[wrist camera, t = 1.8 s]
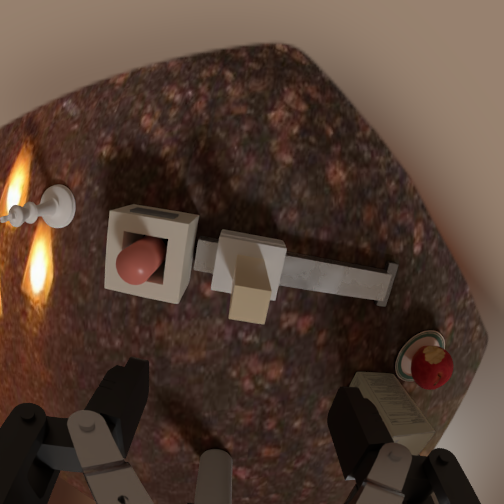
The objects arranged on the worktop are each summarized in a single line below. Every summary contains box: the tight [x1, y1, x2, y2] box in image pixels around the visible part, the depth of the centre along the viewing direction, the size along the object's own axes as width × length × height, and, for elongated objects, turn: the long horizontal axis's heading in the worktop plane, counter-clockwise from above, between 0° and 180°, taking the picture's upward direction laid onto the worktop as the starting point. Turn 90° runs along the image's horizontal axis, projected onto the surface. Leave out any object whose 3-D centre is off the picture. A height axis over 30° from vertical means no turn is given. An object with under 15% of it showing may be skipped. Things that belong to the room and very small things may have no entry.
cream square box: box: [105, 204, 199, 304], centre depth 28 cm, size 7×7×6 cm
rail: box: [194, 236, 398, 307], centre depth 31 cm, size 21×5×2 cm, turn 79°
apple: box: [395, 330, 453, 390], centre depth 32 cm, size 8×8×6 cm
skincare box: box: [349, 372, 435, 456], centre depth 30 cm, size 6×4×12 cm
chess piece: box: [0, 184, 76, 228], centre depth 25 cm, size 5×5×10 cm
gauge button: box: [116, 235, 167, 285], centre depth 25 cm, size 3×3×5 cm
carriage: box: [211, 229, 287, 324], centre depth 25 cm, size 6×5×11 cm
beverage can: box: [194, 449, 232, 504], centre depth 33 cm, size 5×5×12 cm
